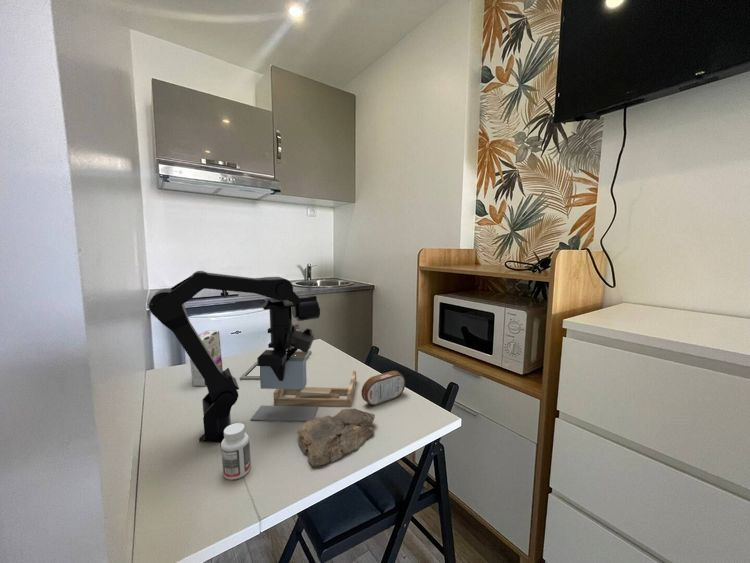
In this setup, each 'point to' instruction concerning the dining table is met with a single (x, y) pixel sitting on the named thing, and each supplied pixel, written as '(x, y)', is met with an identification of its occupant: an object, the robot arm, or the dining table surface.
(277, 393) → the rack
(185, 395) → the dining table surface
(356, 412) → the brown rock
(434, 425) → the dining table surface
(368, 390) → the tin
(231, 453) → the pill bottle
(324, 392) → the offcut upper
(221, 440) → the robot arm
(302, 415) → the mat
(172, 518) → the dining table surface
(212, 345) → the candy bar box
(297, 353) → the grey picture frame
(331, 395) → the offcut lower
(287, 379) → the light blue block
